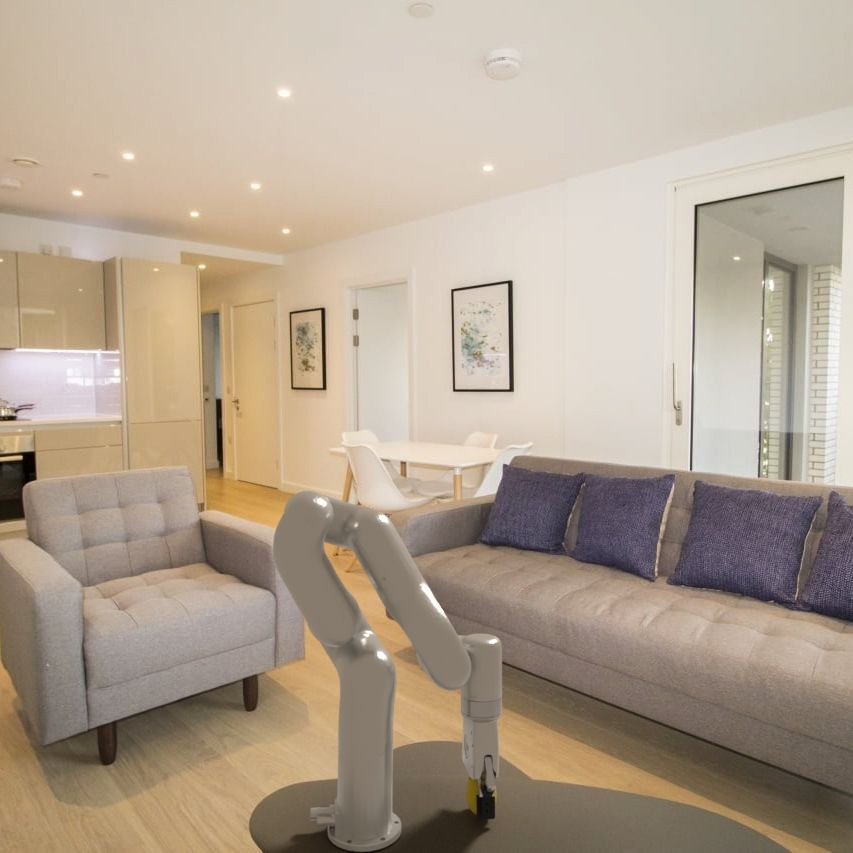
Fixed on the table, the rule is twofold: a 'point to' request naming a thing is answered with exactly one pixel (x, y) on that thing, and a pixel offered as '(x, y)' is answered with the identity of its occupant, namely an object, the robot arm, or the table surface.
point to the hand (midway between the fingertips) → (481, 808)
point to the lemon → (474, 793)
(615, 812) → the table surface
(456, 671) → the robot arm
